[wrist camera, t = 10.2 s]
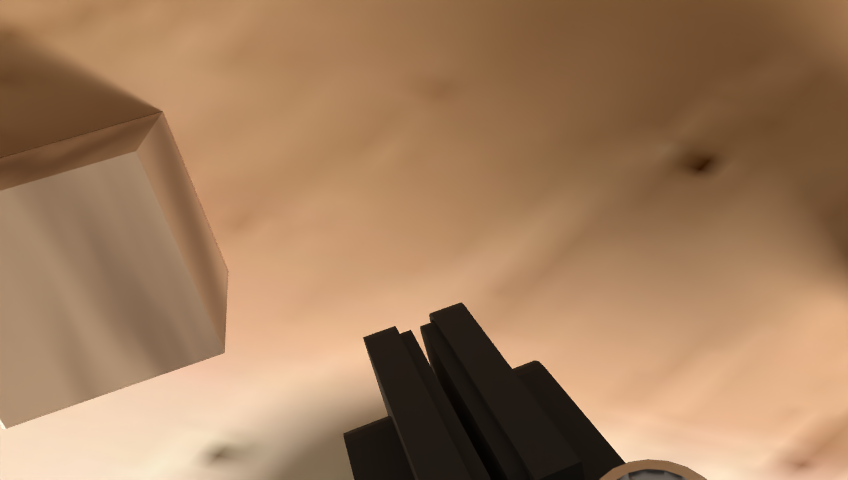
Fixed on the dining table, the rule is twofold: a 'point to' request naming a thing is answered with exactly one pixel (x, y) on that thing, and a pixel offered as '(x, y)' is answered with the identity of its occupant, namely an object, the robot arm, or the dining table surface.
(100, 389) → the cube
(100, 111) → the dining table surface
